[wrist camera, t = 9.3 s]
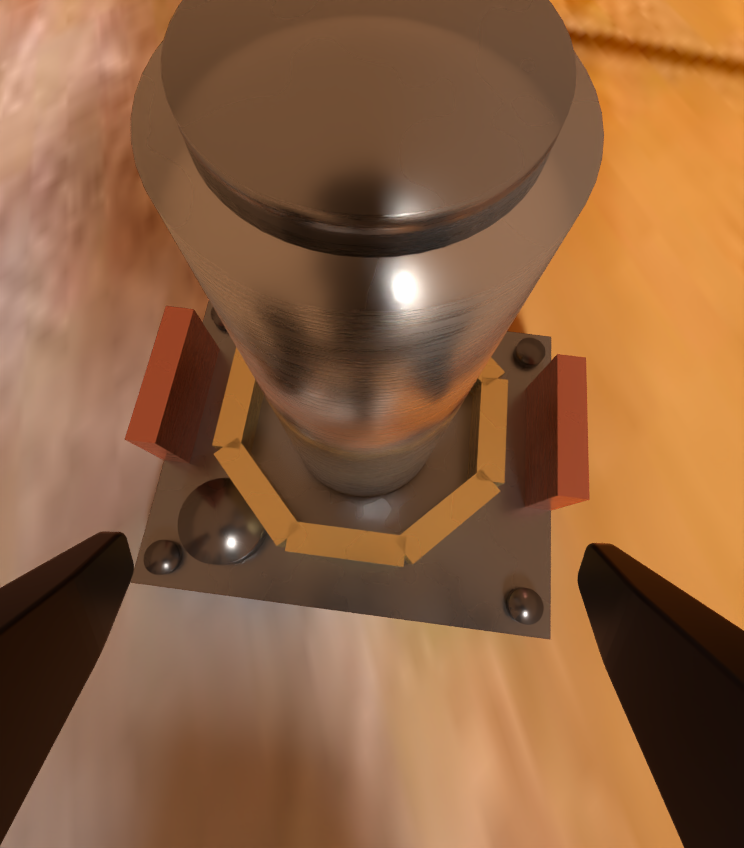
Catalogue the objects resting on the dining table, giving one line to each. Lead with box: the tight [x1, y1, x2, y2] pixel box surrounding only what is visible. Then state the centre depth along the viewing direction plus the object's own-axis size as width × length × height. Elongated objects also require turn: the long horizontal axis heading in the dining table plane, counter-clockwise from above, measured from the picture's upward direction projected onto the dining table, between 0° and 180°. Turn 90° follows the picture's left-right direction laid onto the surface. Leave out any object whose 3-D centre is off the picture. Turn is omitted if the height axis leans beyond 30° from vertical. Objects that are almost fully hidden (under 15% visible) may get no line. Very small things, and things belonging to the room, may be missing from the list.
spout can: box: [131, 0, 604, 497], centre depth 12 cm, size 8×6×14 cm, turn 178°
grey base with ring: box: [125, 301, 589, 639], centre depth 17 cm, size 12×15×5 cm
